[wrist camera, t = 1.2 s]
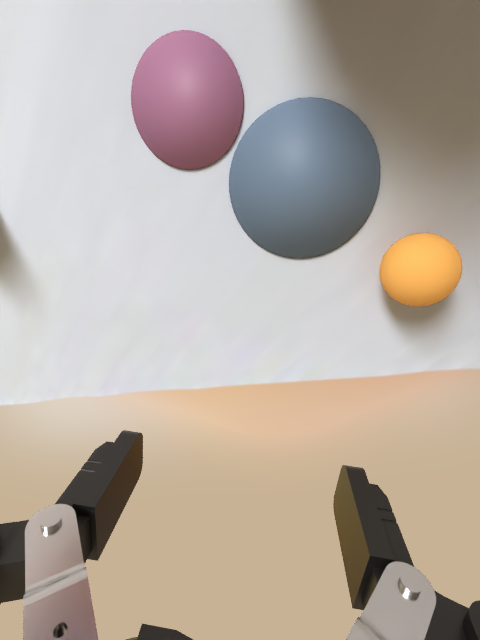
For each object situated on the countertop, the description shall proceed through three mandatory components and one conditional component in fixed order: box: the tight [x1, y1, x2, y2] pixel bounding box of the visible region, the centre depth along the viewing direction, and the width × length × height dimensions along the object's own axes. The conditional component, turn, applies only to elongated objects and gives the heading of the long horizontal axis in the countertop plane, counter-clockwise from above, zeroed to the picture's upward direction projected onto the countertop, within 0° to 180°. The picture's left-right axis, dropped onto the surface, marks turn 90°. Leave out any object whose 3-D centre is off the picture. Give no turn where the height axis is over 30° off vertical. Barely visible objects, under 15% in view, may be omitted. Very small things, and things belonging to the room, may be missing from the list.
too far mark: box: [131, 30, 243, 169], centre depth 29 cm, size 10×10×1 cm
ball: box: [380, 233, 462, 306], centre depth 28 cm, size 6×6×6 cm
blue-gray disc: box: [229, 97, 380, 258], centre depth 29 cm, size 13×13×1 cm
